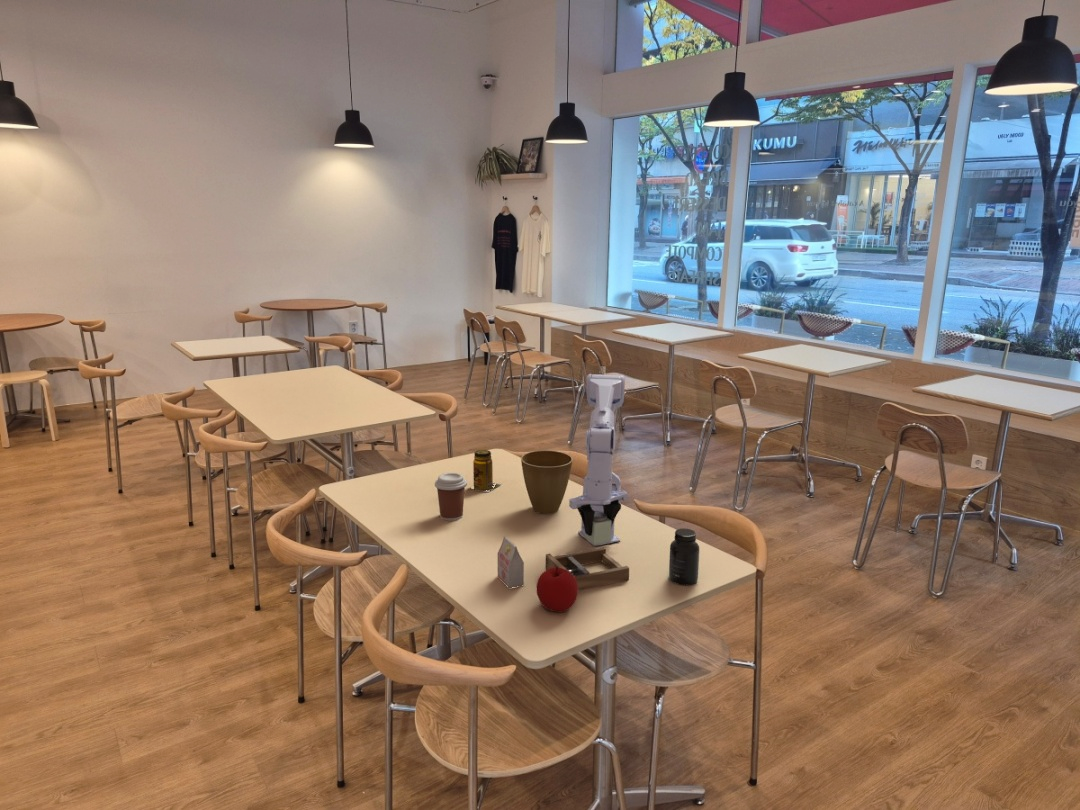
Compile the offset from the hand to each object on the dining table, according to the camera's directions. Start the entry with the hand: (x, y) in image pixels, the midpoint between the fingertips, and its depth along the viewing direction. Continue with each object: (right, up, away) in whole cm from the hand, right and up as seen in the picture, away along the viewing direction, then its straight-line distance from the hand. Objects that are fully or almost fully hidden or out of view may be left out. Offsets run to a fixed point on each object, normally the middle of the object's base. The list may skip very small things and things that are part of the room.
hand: (597, 532), depth 174 cm
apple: (-10, -14, -13) cm, 22 cm away
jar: (0, -2, 0) cm, 2 cm away
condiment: (-31, +4, +59) cm, 67 cm away
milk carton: (-21, -11, -2) cm, 24 cm away
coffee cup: (-39, -2, +36) cm, 53 cm away
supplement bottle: (+20, -11, 0) cm, 23 cm away
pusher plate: (-6, -11, 0) cm, 12 cm away
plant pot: (-12, -1, +41) cm, 43 cm away
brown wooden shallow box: (-3, -10, +1) cm, 11 cm away
